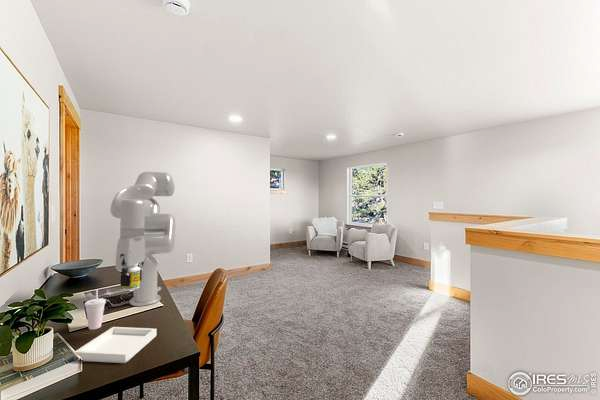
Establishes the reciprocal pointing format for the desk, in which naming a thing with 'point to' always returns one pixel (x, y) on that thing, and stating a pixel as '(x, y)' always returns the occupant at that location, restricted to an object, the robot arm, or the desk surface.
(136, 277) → the supplement bottle
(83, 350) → the tray
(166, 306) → the desk surface
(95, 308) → the smoothie
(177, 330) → the desk surface
